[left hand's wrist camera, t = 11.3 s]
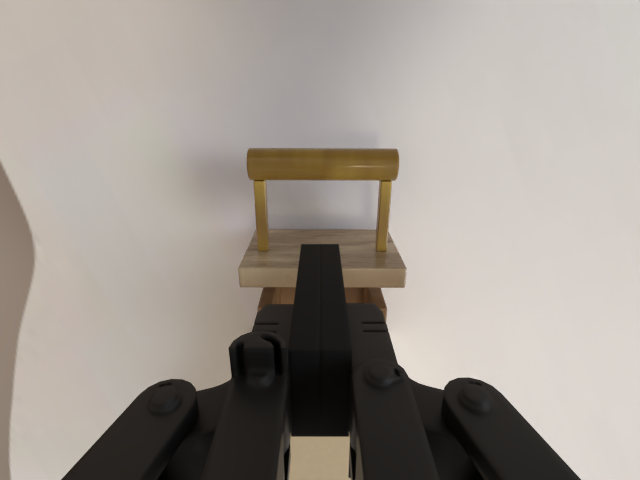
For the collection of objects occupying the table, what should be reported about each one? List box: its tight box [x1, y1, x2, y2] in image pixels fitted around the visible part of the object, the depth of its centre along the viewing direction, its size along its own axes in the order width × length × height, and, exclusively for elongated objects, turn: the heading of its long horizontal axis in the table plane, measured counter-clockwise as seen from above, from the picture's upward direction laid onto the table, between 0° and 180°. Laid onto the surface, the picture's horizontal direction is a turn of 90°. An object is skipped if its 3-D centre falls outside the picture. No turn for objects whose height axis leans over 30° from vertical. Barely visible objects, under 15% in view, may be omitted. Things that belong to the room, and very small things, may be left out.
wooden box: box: [289, 436, 351, 480], centre depth 29 cm, size 18×10×8 cm, turn 0°
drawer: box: [238, 148, 407, 321], centre depth 25 cm, size 23×9×6 cm, turn 0°
